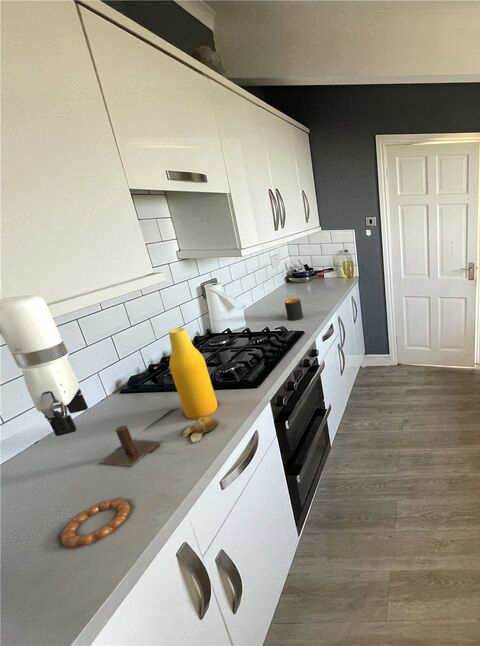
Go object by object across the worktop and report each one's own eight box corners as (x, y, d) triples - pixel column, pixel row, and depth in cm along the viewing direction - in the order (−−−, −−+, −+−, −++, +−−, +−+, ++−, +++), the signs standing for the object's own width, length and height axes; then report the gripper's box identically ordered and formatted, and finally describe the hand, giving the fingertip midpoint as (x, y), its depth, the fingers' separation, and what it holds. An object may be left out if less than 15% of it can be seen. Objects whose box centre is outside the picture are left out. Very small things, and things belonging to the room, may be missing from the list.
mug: (302, 313, 206) (300, 296, 203) (303, 319, 196) (300, 302, 192) (288, 315, 204) (285, 298, 200) (287, 321, 193) (284, 303, 189)
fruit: (180, 434, 104) (176, 424, 102) (209, 419, 110) (206, 410, 109) (193, 444, 99) (190, 434, 98) (222, 428, 106) (220, 418, 104)
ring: (48, 546, 71) (44, 540, 70) (102, 502, 81) (99, 495, 80) (94, 553, 70) (90, 546, 69) (143, 506, 80) (140, 500, 79)
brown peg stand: (102, 466, 92) (88, 438, 89) (133, 443, 100) (122, 416, 97) (131, 469, 91) (119, 440, 88) (160, 445, 99) (150, 418, 96)
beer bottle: (187, 408, 116) (161, 328, 106) (218, 400, 120) (196, 322, 110) (184, 423, 109) (155, 338, 98) (217, 414, 113) (193, 332, 102)
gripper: (32, 344, 78) (62, 408, 84) (-4, 376, 64) (36, 450, 70) (76, 336, 82) (103, 398, 88) (52, 365, 68) (85, 436, 74)
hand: (73, 421), depth 79 cm, fingers open, 9 cm apart
